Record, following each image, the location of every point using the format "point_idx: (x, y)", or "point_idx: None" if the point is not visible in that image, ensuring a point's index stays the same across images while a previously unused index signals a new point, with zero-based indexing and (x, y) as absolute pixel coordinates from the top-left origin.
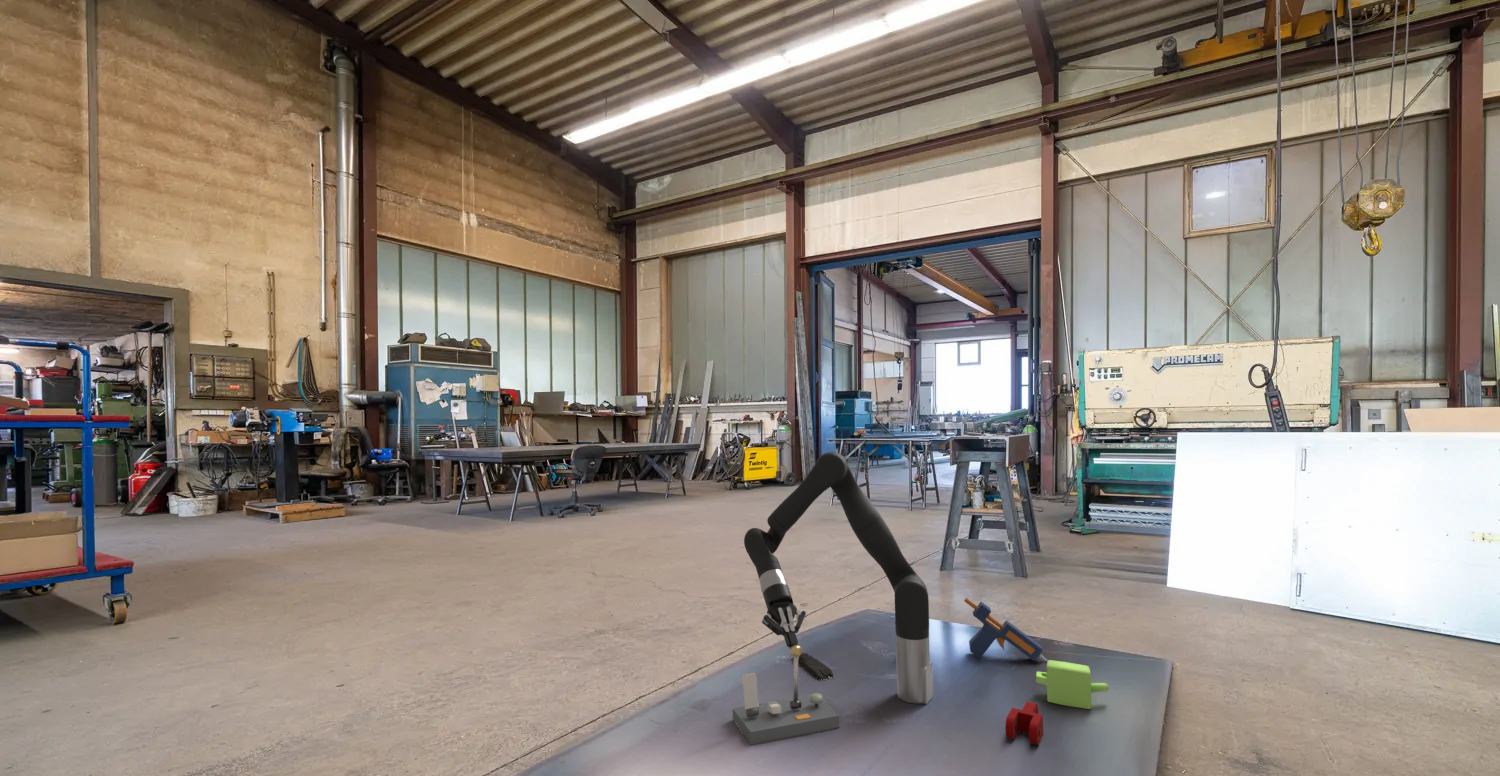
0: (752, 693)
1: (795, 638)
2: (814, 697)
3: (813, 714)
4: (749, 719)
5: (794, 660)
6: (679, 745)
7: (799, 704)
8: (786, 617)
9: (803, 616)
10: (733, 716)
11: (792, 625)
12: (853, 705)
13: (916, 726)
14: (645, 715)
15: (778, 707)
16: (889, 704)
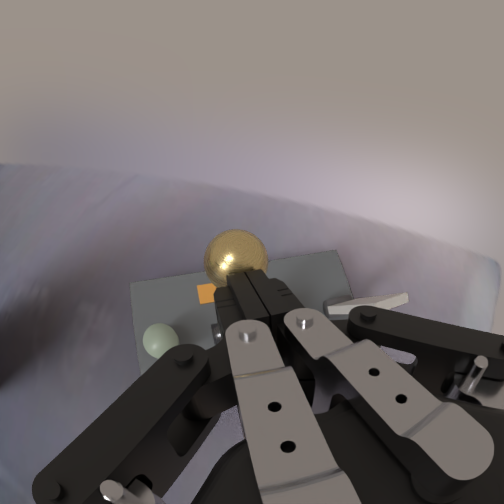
0: (357, 301)
1: (228, 305)
2: (168, 330)
3: (185, 301)
4: None
5: None
6: (425, 278)
7: (216, 323)
8: (331, 432)
9: (77, 453)
10: None
11: (248, 358)
12: (72, 383)
13: (20, 262)
14: None
15: None
16: (14, 358)
